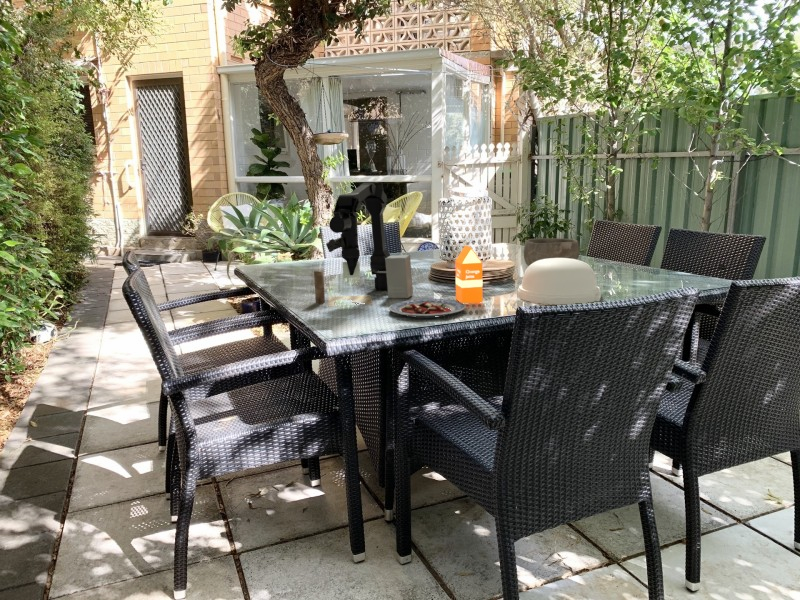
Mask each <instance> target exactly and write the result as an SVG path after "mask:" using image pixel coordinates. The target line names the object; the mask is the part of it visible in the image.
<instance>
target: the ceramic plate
mask: <svg viewBox="0 0 800 600" xmlns="http://www.w3.org/2000/svg"><path fill="white" fill-rule="evenodd" d="M445 307H446V308H445ZM448 308H449V309H448ZM388 309H389V310H390V311H391V312H393V313H395V314H398V315H399V314H400V315H404V316H406V315H408V316H407V317H410V316H416V317H415V318H418V317H431V318H436V317H435V316H441V317H444V316H443V315H446V316H448V314H449V315H451V314H456V313H459V312H462V311H463V310H465V309H466V304H463V303H461V302H458V301H457V300H453V299H443V298H419V299H418V298H416V299H408V300H407V299H406V300H403V301H398V302H395V303H391V305H390V306H389V307H388ZM450 309H451V310H452V311H451V310H450Z"/></svg>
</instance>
